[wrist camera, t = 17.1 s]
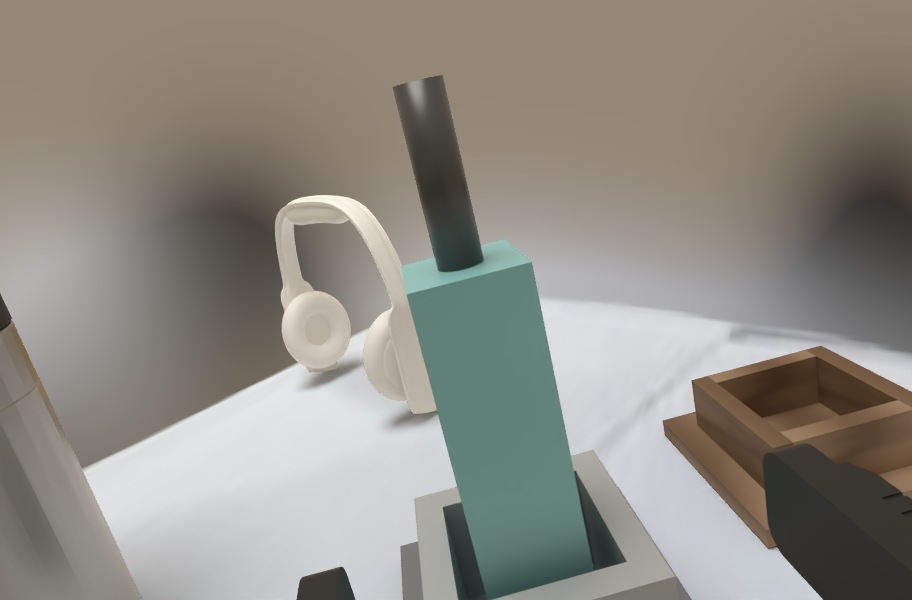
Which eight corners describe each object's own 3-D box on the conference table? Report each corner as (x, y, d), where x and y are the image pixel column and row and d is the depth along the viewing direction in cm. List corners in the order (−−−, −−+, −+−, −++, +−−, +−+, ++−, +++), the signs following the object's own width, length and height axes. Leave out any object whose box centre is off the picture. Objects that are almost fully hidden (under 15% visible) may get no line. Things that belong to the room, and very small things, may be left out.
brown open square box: (768, 548, 29) (760, 473, 28) (665, 434, 40) (656, 377, 38) (992, 485, 30) (993, 409, 28) (831, 389, 40) (827, 331, 39)
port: (426, 925, 19) (372, 778, 17) (405, 561, 34) (375, 465, 32) (813, 807, 19) (800, 653, 17) (620, 502, 34) (603, 404, 33)
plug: (510, 688, 24) (353, 93, 18) (492, 611, 28) (356, 98, 22) (611, 658, 24) (491, 60, 18) (579, 585, 28) (470, 71, 22)
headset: (290, 386, 62) (230, 209, 57) (351, 357, 66) (301, 189, 61) (403, 441, 47) (335, 204, 41) (474, 399, 50) (420, 177, 45)
